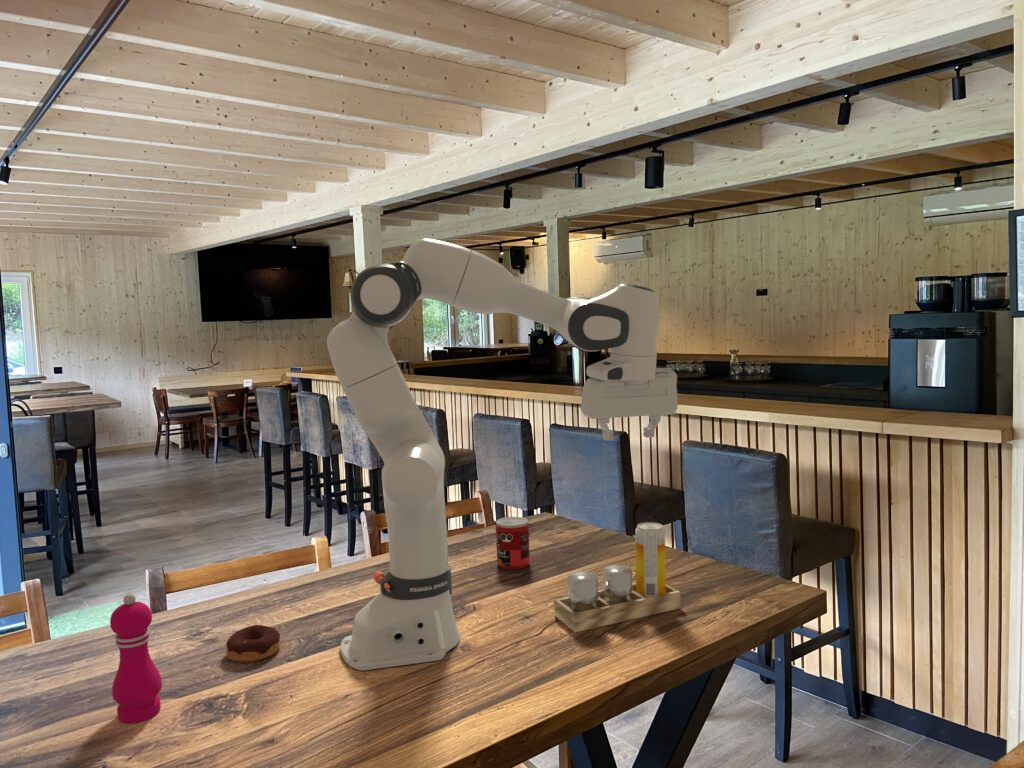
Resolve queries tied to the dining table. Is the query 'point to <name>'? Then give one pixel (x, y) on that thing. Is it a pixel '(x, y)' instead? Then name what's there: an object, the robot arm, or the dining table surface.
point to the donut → (253, 644)
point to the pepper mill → (134, 663)
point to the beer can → (650, 559)
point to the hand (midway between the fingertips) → (628, 438)
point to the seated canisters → (586, 587)
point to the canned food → (512, 542)
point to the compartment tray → (616, 609)
